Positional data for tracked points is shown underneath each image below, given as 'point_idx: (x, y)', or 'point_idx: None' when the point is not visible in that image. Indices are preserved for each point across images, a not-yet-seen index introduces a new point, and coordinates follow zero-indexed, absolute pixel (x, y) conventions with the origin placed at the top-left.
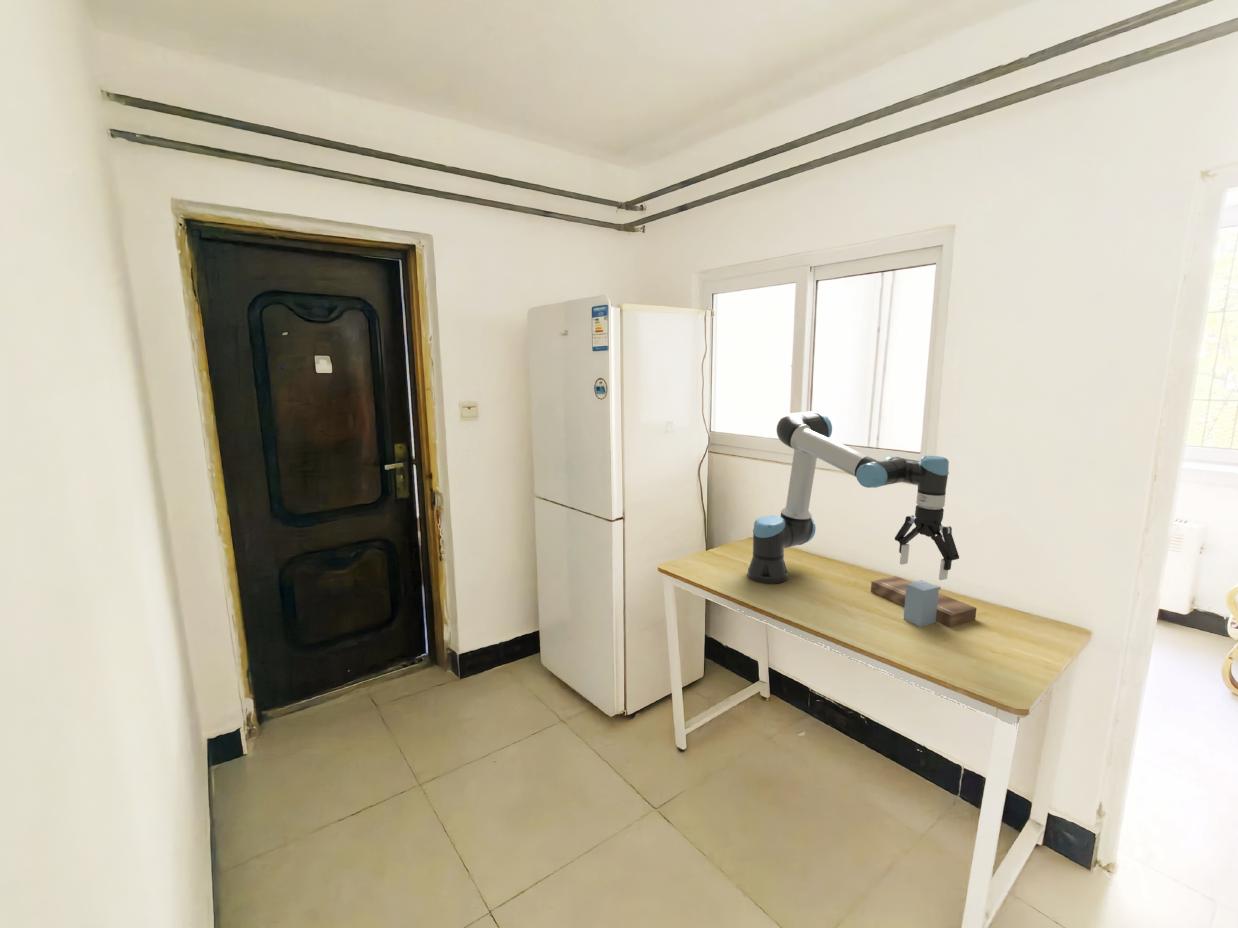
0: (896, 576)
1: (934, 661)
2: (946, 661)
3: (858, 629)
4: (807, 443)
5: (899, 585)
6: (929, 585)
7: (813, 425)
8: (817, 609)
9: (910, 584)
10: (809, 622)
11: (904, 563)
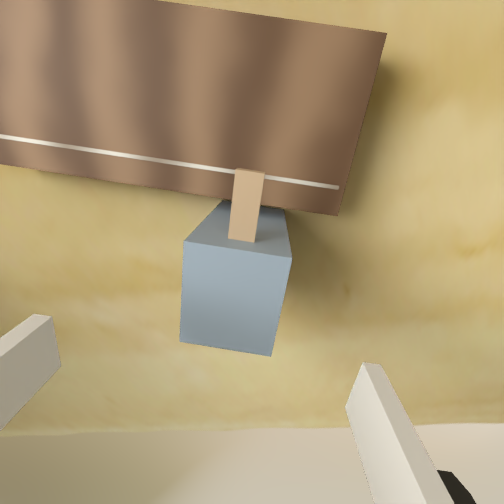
0: None
1: None
2: (389, 374)
3: (196, 384)
4: None
5: (49, 94)
6: (251, 277)
7: None
8: (80, 371)
9: (193, 333)
10: (127, 423)
11: (54, 347)
